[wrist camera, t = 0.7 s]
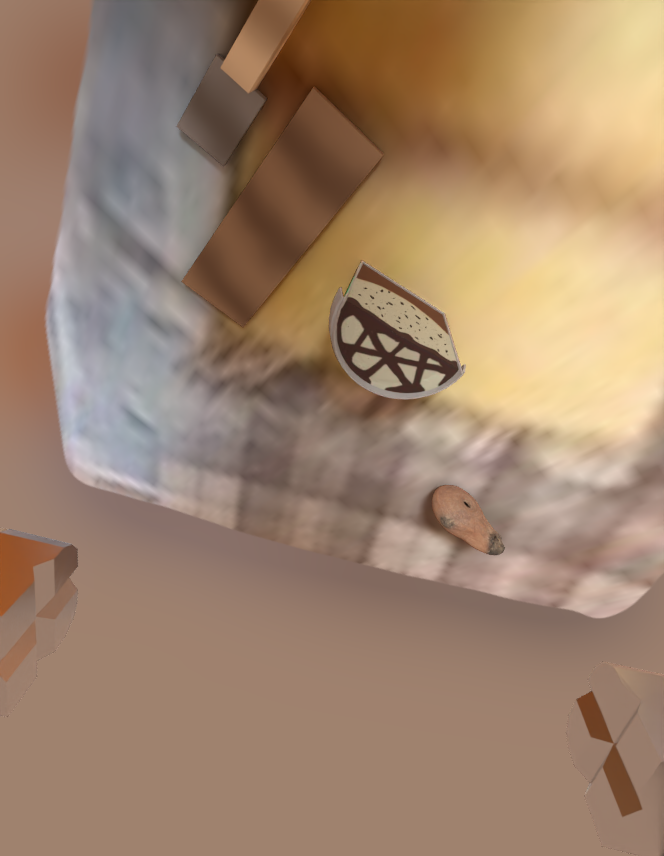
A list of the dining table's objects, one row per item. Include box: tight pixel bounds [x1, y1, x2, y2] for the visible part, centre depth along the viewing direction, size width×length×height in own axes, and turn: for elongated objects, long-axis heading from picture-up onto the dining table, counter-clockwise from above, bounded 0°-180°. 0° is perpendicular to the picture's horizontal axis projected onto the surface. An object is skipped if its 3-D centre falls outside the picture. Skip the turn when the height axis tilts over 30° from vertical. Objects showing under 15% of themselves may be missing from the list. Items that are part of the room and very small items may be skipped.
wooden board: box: [181, 86, 383, 327], centre depth 46 cm, size 20×7×1 cm, turn 141°
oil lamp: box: [432, 485, 505, 555], centre depth 61 cm, size 9×4×8 cm, turn 66°
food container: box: [329, 261, 466, 399], centre depth 47 cm, size 12×6×10 cm, turn 59°
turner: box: [176, 0, 311, 166], centre depth 38 cm, size 16×4×3 cm, turn 141°
